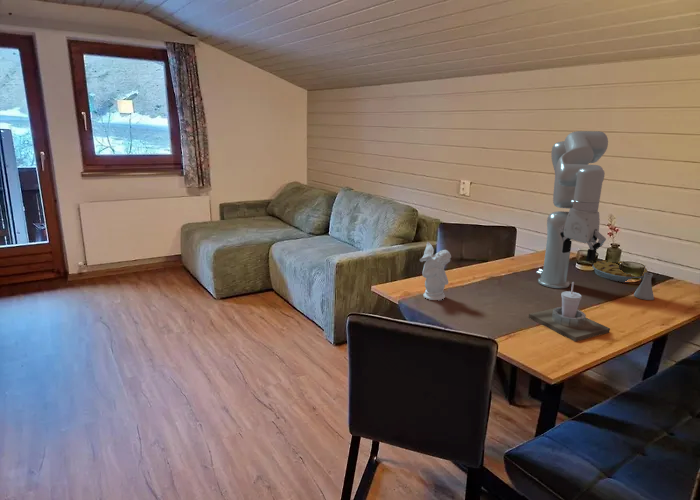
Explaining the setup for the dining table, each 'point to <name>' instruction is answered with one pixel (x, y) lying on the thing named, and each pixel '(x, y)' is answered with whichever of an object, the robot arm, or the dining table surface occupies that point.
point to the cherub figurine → (435, 272)
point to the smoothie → (570, 302)
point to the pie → (613, 271)
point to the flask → (645, 288)
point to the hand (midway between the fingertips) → (577, 256)
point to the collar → (568, 318)
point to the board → (572, 333)
